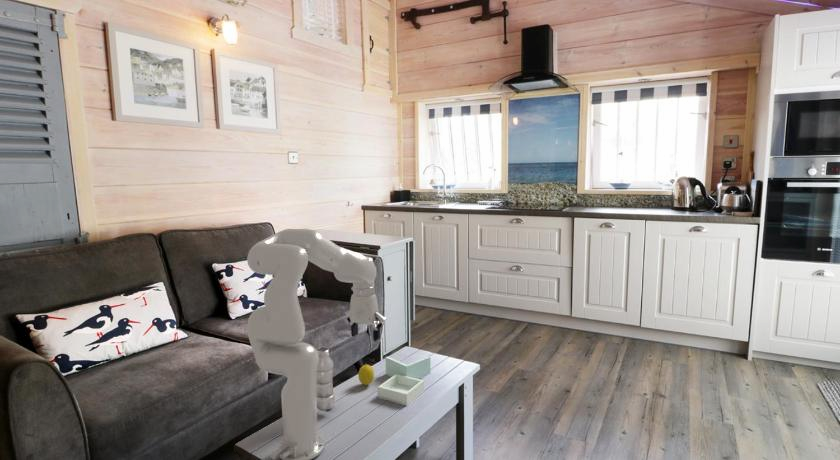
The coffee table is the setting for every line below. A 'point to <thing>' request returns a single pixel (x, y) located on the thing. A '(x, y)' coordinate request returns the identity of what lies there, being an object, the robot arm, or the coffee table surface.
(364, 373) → the lemon
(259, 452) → the coffee table surface
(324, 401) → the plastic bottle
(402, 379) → the bin
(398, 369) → the l-shaped corner panel
